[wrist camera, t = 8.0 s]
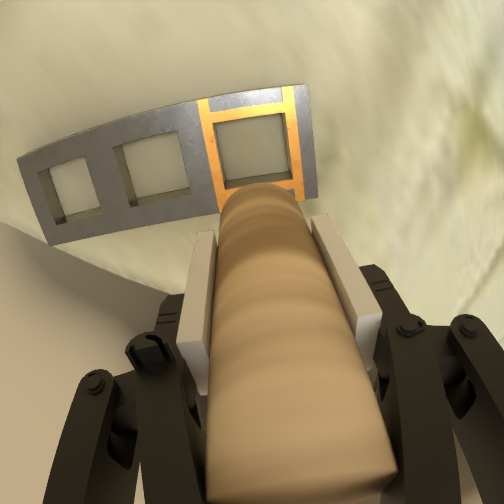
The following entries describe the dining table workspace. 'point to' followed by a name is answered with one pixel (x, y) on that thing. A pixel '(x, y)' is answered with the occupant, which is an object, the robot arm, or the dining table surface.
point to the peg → (285, 369)
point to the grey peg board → (194, 155)
